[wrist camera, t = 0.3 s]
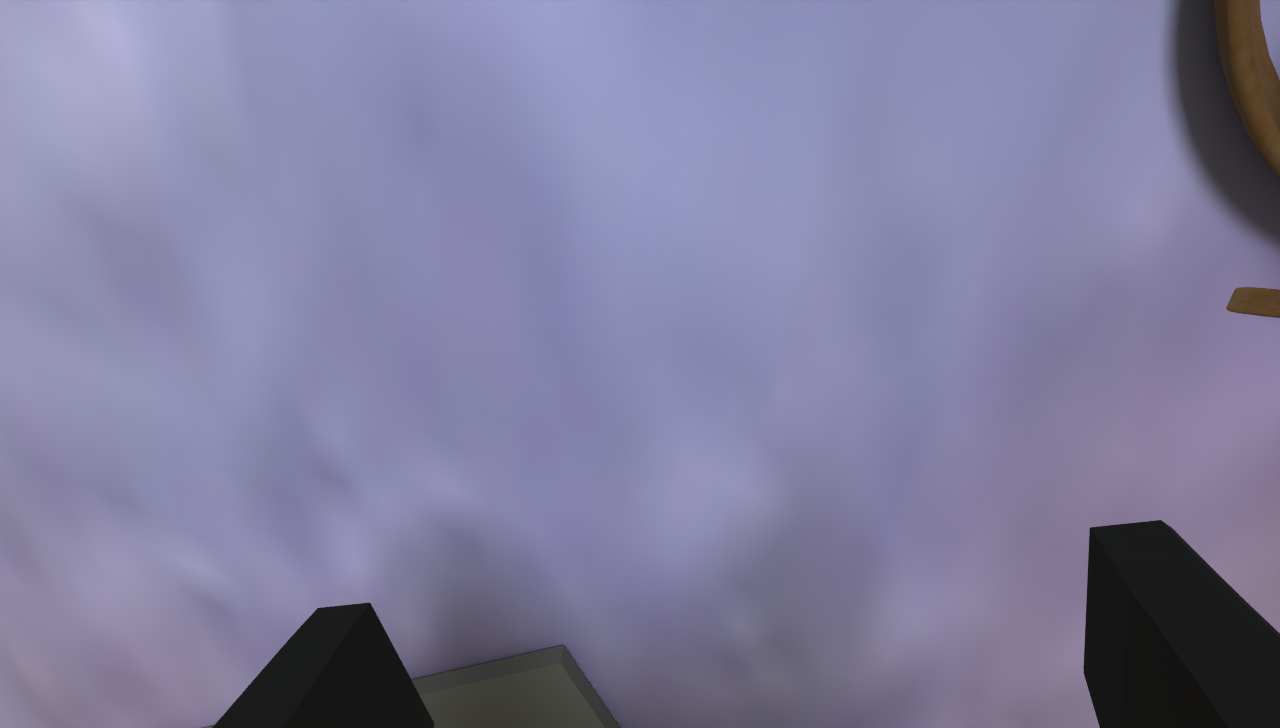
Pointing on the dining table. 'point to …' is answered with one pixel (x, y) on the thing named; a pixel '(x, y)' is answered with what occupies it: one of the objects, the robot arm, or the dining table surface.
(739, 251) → the dining table surface
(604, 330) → the dining table surface
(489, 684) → the mat
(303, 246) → the dining table surface
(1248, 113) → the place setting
